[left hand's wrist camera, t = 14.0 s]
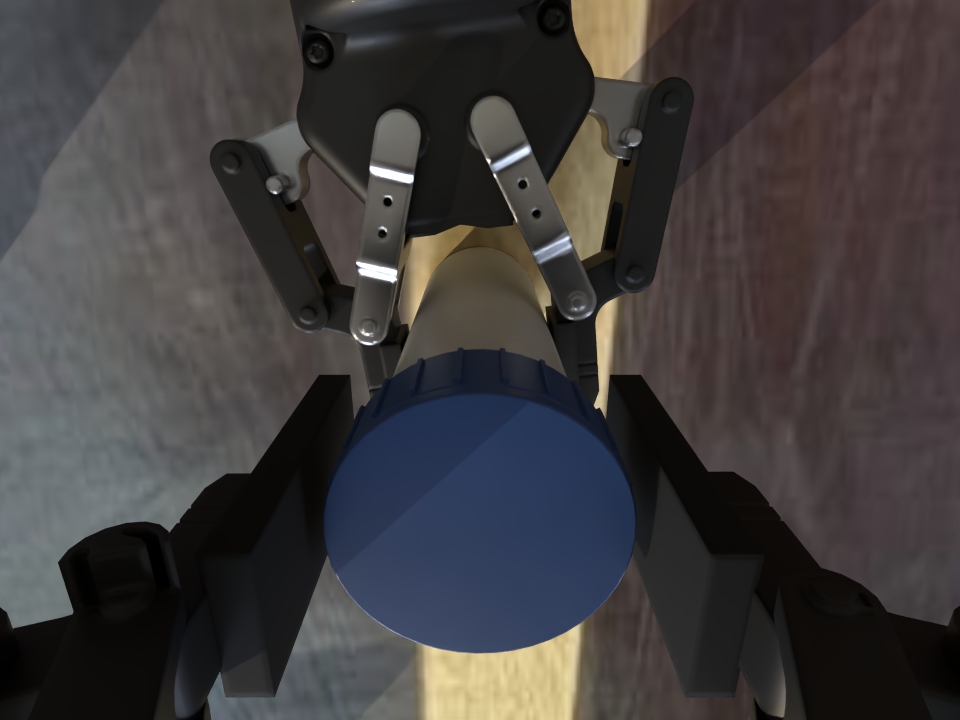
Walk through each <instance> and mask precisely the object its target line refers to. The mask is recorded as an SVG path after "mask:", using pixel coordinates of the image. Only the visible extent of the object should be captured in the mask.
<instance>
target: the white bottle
mask: <svg viewBox="0 0 960 720" xmlns="http://www.w3.org/2000/svg"><path fill="white" fill-rule="evenodd" d="M461 347H463V350H469V349H490V350H500V348H505V351H507V352H511V353H516V354H521V355H523V356H526V357H529V358H532V359H535V360H538V361H539V360H540V359H542V360H545V363H546V365H548V366H550V367H552V368H554V369H555V370H557V371H558V372H560V373H561V374H563V375H564V376H566V374H565V371H564V368H563V366H562V363H561V360H560V357H559V355H558V352H557V349H556V347H555V344H554V341H553V339H552V336H551V333H550V330H549V328H548V325H547V322H546V320H545V317H544V314H543V312H542V309H541V306H540V303H539V301H538V298H537V295H536V293H535V290H534V287H533V285H532V282H531V280H530V278H529V276H528V274H527V272H526V271H525V269H524V268H523V267H522V266H521V264H520V263H518V262H517V261H516V260H515V259H514V258H512V257H511V256H510V255H508V254H506V253H504V252H502V251H499V250H496V249H492V248H486V247H473V248H467V249H464V250H461V251H458V252H456V253H454V254H452V255H450V256H449V257H447V258H446V259H445V260H444V261H442V262H441V263H440V264H439V265H438V267H437V268H436V269H435V270H434V272H433V273H432V275H431V277H430V279H429V281H428V284H427V287H426V289H425V292H424V295H423V298H422V300H421V303H420V306H419V308H418V311H417V314H416V316H415V319H414V322H413V325H412V327H411V330H410V333H409V335H408V338H407V341H406V343H405V346H404V349H403V351H402V354H401V357H400V360H399V362H398V365H397V368H396V370H395V373H394V376H395V375H397V374H398V373H400V372H402V371H403V370H405V369H406V368H408V367H410V366H411V365H414V364H416V363H417V360H418V359H420V358H423V359H424V360H425V359H427V358H430V357H433V356H437V355H440V354H443V353H447V352H453V351H457V350H458V348H461ZM394 376H393V377H394ZM566 377H567V376H566Z"/></svg>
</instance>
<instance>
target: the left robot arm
mask: <svg viewBox="0 0 960 720" xmlns="http://www.w3.org/2000/svg"><path fill="white" fill-rule="evenodd" d="M353 422H354V415H353V403H352V392H351V380H350V375H319V376H318V377H317V379H316V380H315V382H314V383H313V385H312V386H311V387H310V389H309V390H308V392H307V393H306V395H305V396H304V398H303V399H302V400H301V402H300V403H299V405H298V406H297V408H296V409H295V411H294V412H293V413H292V415H291V416H290V418H289V419H288V421H287V422H286V424H285V425H284V426H283V428H282V429H281V431H280V432H279V434H278V435H277V436H276V438H275V439H274V441H273V442H272V444H271V445H270V447H269V448H268V449H267V451H266V452H265V454H264V455H263V457H262V458H261V460H260V461H259V462H258V464H257V465H256V467H255V468H254V470H253V471H252V473H251V474H225V475H224V476H222V477H221V478H219V479H218V480H216V481H215V482H213V483H212V484H210V485H209V486H207V487H206V488H205V489H204V490H203V491H202V492H201V494H200V495H199V496H198V497H197V499H196V500H195V501H194V502H193V504H192V505H191V509H188V510H187V511H186V512H185V514H184V515H183V516H182V517H181V519H180V523H177V524H176V525H175V526H174V528H173V529H172V530H171V531H170V533H169V532H168V531H167V530H166V529H165V528H164V527H162V526H161V525H160V524H155V523H150V522H133V523H124V524H121V525H117V526H113V527H109V528H106V529H103V530H101V531H99V532H97V533H95V534H92V535H90V536H88V537H86V538H84V539H83V540H81V541H80V542H79V543H77V544H76V545H74V546H73V547H71V548H70V549H69V550H68V551H67V552H66V553H65V555H64V556H63V557H62V558H61V559H60V561H59V562H58V564H59V567H60V570H61V573H62V577H63V580H64V583H65V586H66V589H67V592H68V595H69V598H70V601H71V604H72V608H73V611H74V612H73V614H72V615H69V616H66V617H62V618H58V619H53V620H49V621H44V622H40V623H36V624H31V625H27V626H22V627H18V628H12V625H11V622H10V620H9V617H8V614H7V612H5V611H4V610H3V609H1V608H0V720H211V715H210V708H209V703H208V699H207V696H208V694H209V692H210V690H211V688H212V686H213V684H214V682H215V680H216V678H217V676H218V674H219V672H220V673H221V677H222V682H223V687H224V691H225V696H226V697H275V695H276V692H277V689H278V686H279V684H280V681H281V678H282V676H283V673H284V670H285V668H286V665H287V662H288V660H289V657H290V654H291V651H292V649H293V646H294V643H295V641H296V638H297V635H298V633H299V630H300V627H301V624H302V622H303V619H304V616H305V614H306V611H307V608H308V606H309V603H310V600H311V597H312V595H313V592H314V589H315V587H316V584H317V581H318V579H319V576H320V573H321V570H322V568H323V565H324V562H325V560H326V557H327V551H326V546H325V540H324V534H323V511H324V504H325V497H326V494H327V491H328V488H329V485H330V484H329V483H327V482H328V478H329V476H330V474H331V471H332V469H333V467H334V465H335V463H336V460H337V458H338V456H339V454H340V451H341V449H342V446H343V444H344V442H345V439H346V437H347V435H348V433H349V430H350V428H351V426H352V424H353ZM606 422H607V424H608V426H609V428H610V430H611V433H612V435H613V437H614V439H615V441H616V444H617V446H618V448H619V450H618V451H619V453H620V456H621V458H622V460H623V462H624V465H625V467H626V469H627V471H628V473H629V476H630V478H631V480H632V483H633V486H631V488H632V492H633V496H634V500H635V505H636V515H637V528H636V539H635V544H634V548H633V553H632V554H633V557H634V560H635V562H636V565H637V568H638V570H639V573H640V576H641V579H642V581H643V584H644V587H645V589H646V592H647V595H648V597H649V600H650V603H651V606H652V608H653V611H654V614H655V616H656V619H657V622H658V624H659V627H660V630H661V633H662V635H663V638H664V641H665V643H666V646H667V649H668V651H669V654H670V657H671V660H672V662H673V665H674V668H675V670H676V673H677V676H678V678H679V681H680V684H681V686H682V689H683V692H684V695H685V697H734V696H735V691H736V687H737V682H738V677H739V673H740V669H741V671H742V673H743V675H744V677H745V679H746V681H747V683H748V685H749V687H750V689H751V691H752V693H753V699H752V703H751V708H750V712H749V716H748V720H960V606H959V607H957V608H956V609H955V610H954V612H953V614H952V617H951V620H950V622H949V625H948V626H945V625H940V624H936V623H931V622H927V621H922V620H918V619H913V618H909V617H904V616H900V615H896V614H893V613H889V612H887V611H886V610H885V608H884V607H883V605H882V604H881V602H880V601H879V599H878V598H877V597H876V596H875V595H874V594H872V593H871V592H870V591H869V590H868V589H866V588H865V587H864V586H863V585H861V584H860V583H858V582H856V581H854V580H852V579H850V578H848V577H846V576H844V575H842V574H839V573H836V572H833V571H829V570H826V569H823V568H821V567H820V566H819V565H818V564H817V562H816V561H815V560H814V559H813V557H812V556H811V555H810V554H809V552H808V551H807V550H806V549H805V547H804V546H803V545H802V544H801V542H800V541H799V540H798V539H797V537H796V536H795V535H794V534H793V532H792V531H791V530H790V529H789V527H788V526H787V525H786V524H785V522H784V521H781V517H780V516H779V515H778V514H777V512H776V511H775V510H774V509H773V507H770V506H769V502H768V501H767V500H766V499H765V498H764V496H763V495H762V494H761V493H760V491H759V490H758V489H757V488H756V486H754V485H753V484H751V483H750V482H748V481H747V480H745V479H744V478H742V477H741V476H739V475H738V474H736V473H735V472H708V471H707V470H706V468H705V467H704V465H703V464H702V462H701V461H700V460H699V458H698V457H697V455H696V454H695V452H694V451H693V449H692V448H691V447H690V445H689V444H688V442H687V441H686V439H685V438H684V436H683V435H682V434H681V432H680V431H679V429H678V428H677V426H676V425H675V424H674V422H673V421H672V419H671V418H670V416H669V415H668V413H667V412H666V411H665V409H664V408H663V406H662V405H661V403H660V402H659V400H658V399H657V398H656V396H655V395H654V393H653V392H652V390H651V389H650V387H649V386H648V385H647V383H646V382H645V380H644V379H643V377H642V376H641V375H610V380H609V392H608V403H607V415H606Z"/></svg>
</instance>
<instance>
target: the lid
mask: <svg viewBox="0 0 960 720" xmlns="http://www.w3.org/2000/svg"><path fill="white" fill-rule="evenodd" d="M618 450H619V448H618V446H617V444H616V441H615V439H614V437H613V435H612V433H611V430H610V428H609V426H608V424H607V422H606V419H605V417H604V415H603V413H602V411H601V409H600V408H598V409H595V407H594V405H593V404H592V402H591V401H590V400H589V399H588V397H587V396H586V395H585V394H584V393H583V392H582V390H581V389H580V386H579V384H578V382H577V381H576V380H573V381H571V380H570V379H568V378H567V377H566V376H564V375H563V374H561V373H560V372H558V371H557V370H555V369H554V368H552V367H550V366H548V365H546V363H545V360H542V359H540V360H539V361H538V360H535V359H532V358H529V357H526V356H523V355H521V354H516V353H511V352H507V351H505V348H500V350H490V349H469V350H463V347H461V348H458V350H457V351H453V352H447V353H443V354H440V355H437V356H433V357H430V358H427V359H425V360H424V359H423V358H420V359H418V360H417V363H416V364H414V365H411V366H410V367H408V368H406V369H405V370H403V371H402V372H400V373H398V374H397V375H395V376H394V377H393V378H392V379H389V378H386V379H385V380H384V382H383V384H382V387H381V388H380V389H379V390H378V391H377V392H376V394H375V395H374V396H373V397H372V398H371V399H370V401H369V402H368V404H367V405H366V406H365V407H364V406H363V405H361V407H360V408H359V411H358V413H357V415H356V417H355V419H354V422H353V424H352V426H351V428H350V430H349V433H348V435H347V437H346V439H345V442H344V444H343V446H342V449H341V451H340V454H339V456H338V458H337V460H336V463H335V465H334V467H333V469H332V471H331V474H330V476H329V478H328V482H327V483H329V484H330V485H329V488H328V491H327V494H326V497H325V504H324V511H323V534H324V540H325V546H326V551H327V554H328V557H329V560H330V563H331V566H332V568H333V570H334V572H335V574H336V576H337V578H338V580H339V581H340V583H341V584H342V586H343V587H344V589H345V590H346V592H347V593H348V594H349V596H350V597H351V598H352V599H353V600H354V601H355V602H356V603H357V604H358V606H359V607H360V608H361V609H362V610H364V611H365V612H366V613H367V614H368V615H369V616H371V617H372V618H373V619H374V620H376V621H377V622H379V623H380V624H382V625H383V626H385V627H386V628H388V629H389V630H391V631H393V632H395V633H397V634H399V635H401V636H403V637H405V638H407V639H410V640H412V641H415V642H417V643H420V644H423V645H426V646H430V647H434V648H437V649H442V650H448V651H454V652H463V653H498V652H505V651H513V650H517V649H522V648H526V647H530V646H534V645H536V644H539V643H542V642H545V641H548V640H550V639H552V638H555V637H557V636H559V635H561V634H563V633H565V632H567V631H568V630H570V629H572V628H573V627H575V626H577V625H578V624H580V623H581V622H583V621H584V620H585V619H586V618H588V617H589V616H590V615H591V614H593V613H594V612H595V611H596V610H597V609H598V608H599V607H600V606H601V605H602V604H603V603H604V602H605V601H606V600H607V599H608V598H609V596H610V595H611V594H612V592H613V591H614V590H615V588H616V587H617V586H618V584H619V582H620V580H621V579H622V577H623V575H624V573H625V572H626V569H627V567H628V564H629V561H630V559H631V556H632V553H633V548H634V544H635V539H636V528H637V515H636V505H635V500H634V496H633V492H632V488H631V486H633V483H632V480H631V478H630V476H629V473H628V471H627V469H626V467H625V465H624V462H623V460H622V458H621V456H620V453H619V451H618Z"/></svg>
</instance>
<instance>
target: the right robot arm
mask: <svg viewBox="0 0 960 720" xmlns="http://www.w3.org/2000/svg"><path fill="white" fill-rule="evenodd" d="M290 4H291V8H292V13H293V18H294V23H295V27H296V32H297V37H298V42H299V46H300V50H301V54H302V60H303V69H304V76H303V86H302V91H301V95H300V98H299V101H298V105H297V118H296V119H293V120H291V121H289V122H286V123H284V124H282V125H279V126H277V127H275V128H272V129H270V130H268V131H265V132H263V133H261V134H258V135H256V136H254V137H251V138H249V139H232V140H222V141H220V142H218V143H217V144H216V145H215V146H214V147H213V149H212V151H211V154H210V164H211V167H212V170H213V172H214V174H215V176H216V177H217V179H218V181H219V183H220V185H221V187H222V189H223V191H224V193H225V195H226V197H227V199H228V201H229V203H230V204H231V206H232V208H233V210H234V212H235V214H236V216H237V218H238V220H239V222H240V224H241V226H242V228H243V230H244V232H245V233H246V235H247V237H248V239H249V241H250V243H251V245H252V247H253V249H254V251H255V253H256V255H257V257H258V259H259V261H260V262H261V264H262V266H263V268H264V270H265V272H266V274H267V276H268V278H269V280H270V282H271V284H272V286H273V288H274V289H275V291H276V293H277V295H278V297H279V299H280V301H281V303H282V305H283V307H284V309H285V311H286V313H287V315H288V317H289V318H290V320H291V322H292V324H293V325H294V326H295V327H296V328H297V329H299V330H300V331H302V332H306V333H315V332H318V331H320V330H321V329H322V330H327V331H332V332H336V333H341V334H344V335H347V336H348V337H350V338H351V339H353V340H354V341H355V342H356V343H357V345H358V346H359V349H360V351H361V355H362V360H363V365H364V370H365V374H366V379H367V384H368V389H369V393H370V398H372V397H373V396H374V395H375V394H376V392H377V391H378V390H379V389H380V388H381V387H382V384H383V382H384V380H385V379H386V378H389V379H392V378H393V376H394V373H395V370H396V368H397V365H398V362H399V360H400V357H401V354H402V351H403V349H404V346H405V343H406V341H407V338H408V335H409V327H408V324H402V325H401V323H400V317H399V312H398V308H399V303H400V297H401V292H402V287H403V281H404V276H405V271H406V266H407V261H408V258H409V254H410V250H411V245H412V239H413V238H414V237H422V236H430V235H436V234H438V233H441V232H443V231H445V230H448V229H450V228H453V227H455V226H457V225H469V226H476V227H483V228H493V227H501V226H508V225H513V221H515V220H516V222H517V224H518V226H519V228H520V230H521V233H522V235H523V237H524V239H525V241H526V243H527V245H528V247H529V249H530V251H531V253H532V255H533V257H534V259H535V261H536V263H537V266H538V268H539V270H540V272H541V274H542V276H543V278H544V280H545V282H546V284H547V286H548V288H549V290H550V292H551V303H552V306H546V318H547V325H548V328H549V330H550V333H551V336H552V339H553V341H554V344H555V347H556V349H557V352H558V355H559V357H560V360H561V363H562V366H563V368H564V371H565V374H566V376H567V378H568V379H570V380H571V381H573V380H576V381H577V382H578V384H579V386H580V389H581V390H582V392H583V393H584V394H585V395H586V396H587V397H588V399H589V400H590V401H591V402H592V404H593V405H594V403H595V401H596V398H597V395H598V392H599V381H598V365H597V346H596V329H595V320H596V316H597V313H598V312H599V310H600V309H601V307H602V306H603V305H604V304H605V303H607V302H608V301H610V300H612V299H614V298H616V297H618V296H620V295H622V294H624V293H627V292H629V293H638V292H641V291H643V290H645V289H646V288H647V287H648V286H649V285H650V284H651V283H652V281H653V279H654V276H655V271H656V267H657V263H658V258H659V254H660V249H661V245H662V240H663V236H664V231H665V227H666V223H667V218H668V214H669V209H670V205H671V200H672V196H673V191H674V187H675V183H676V178H677V174H678V169H679V165H680V160H681V156H682V151H683V147H684V142H685V138H686V134H687V129H688V125H689V120H690V116H691V111H692V107H693V101H694V96H693V91H692V88H691V87H690V85H689V84H688V83H687V82H686V81H685V80H683V79H681V78H678V77H670V78H667V79H664V80H661V81H658V82H655V83H652V84H647V83H639V82H631V81H623V80H615V79H608V78H600V77H594V74H593V70H592V68H591V65H590V64H589V62H588V60H587V59H586V57H585V55H584V54H583V52H582V50H581V48H580V46H579V44H578V41H577V39H576V35H575V32H574V27H573V21H572V9H571V0H290ZM587 114H589V115H591V116H593V117H594V118H595V119H596V120H597V121H598V123H599V125H600V127H601V133H602V135H601V142H602V146H603V149H604V151H605V152H606V153H607V154H608V155H609V156H611V157H613V158H617V159H618V162H617V167H616V173H615V178H614V183H613V188H612V194H611V199H610V204H609V210H608V215H607V220H606V226H605V231H604V236H603V242H602V247H601V252H599V253H597V254H595V255H593V256H591V257H589V258H587V259H585V260H583V261H580V259H579V256H578V254H577V252H576V250H575V248H574V245H573V243H572V239H571V236H570V234H569V232H568V229H567V227H566V225H565V223H564V221H563V218H562V216H561V214H560V212H559V210H558V207H557V205H556V203H555V201H554V199H553V196H552V194H551V192H550V190H549V188H548V183H549V181H550V179H551V178H552V176H553V174H554V172H555V171H556V169H557V167H558V165H559V164H560V162H561V160H562V158H563V156H564V155H565V153H566V151H567V149H568V148H569V146H570V144H571V142H572V141H573V139H574V137H575V135H576V134H577V132H578V130H579V128H580V126H581V125H582V123H583V121H584V119H585V118H586V116H587ZM313 153H315V154H316V155H317V156H318V157H319V158H320V159H321V160H322V161H323V162H324V163H325V164H326V165H327V166H328V167H329V168H330V169H331V170H332V172H333V173H334V174H335V175H336V176H337V177H338V178H339V179H340V180H341V181H342V182H343V183H344V184H345V185H346V186H347V187H348V188H349V189H350V190H351V191H352V192H353V193H354V194H355V195H356V196H357V197H358V198H359V199H360V200H361V201H362V202H363V203H364V204H365V209H364V216H363V222H362V228H361V235H360V241H359V248H358V254H357V263H356V266H357V279H356V285H355V287H351V286H346V285H342V284H341V283H340V281H339V279H338V277H337V275H336V273H335V271H334V269H333V267H332V265H331V262H330V260H329V258H328V256H327V254H326V252H325V250H324V248H323V246H322V243H321V241H320V239H319V237H318V235H317V233H316V231H315V229H314V227H313V224H312V222H311V220H310V218H309V216H308V214H307V212H306V210H305V208H304V205H303V203H302V201H301V199H303V198H304V197H305V196H306V195H307V194H308V192H309V190H310V178H309V175H308V170H307V164H308V160H309V158H310V156H311V155H312V154H313Z"/></svg>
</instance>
